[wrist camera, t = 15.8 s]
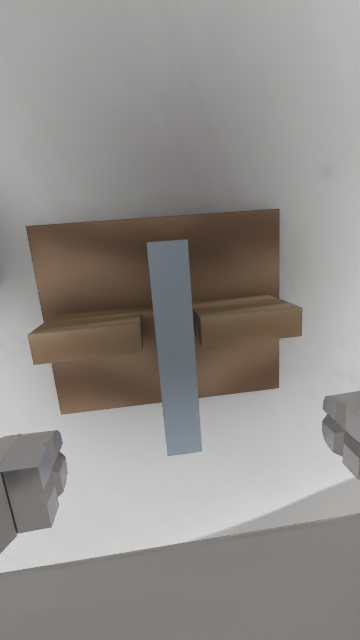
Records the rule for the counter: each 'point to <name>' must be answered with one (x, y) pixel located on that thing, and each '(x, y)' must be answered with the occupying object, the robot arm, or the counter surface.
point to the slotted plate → (175, 344)
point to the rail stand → (137, 309)
